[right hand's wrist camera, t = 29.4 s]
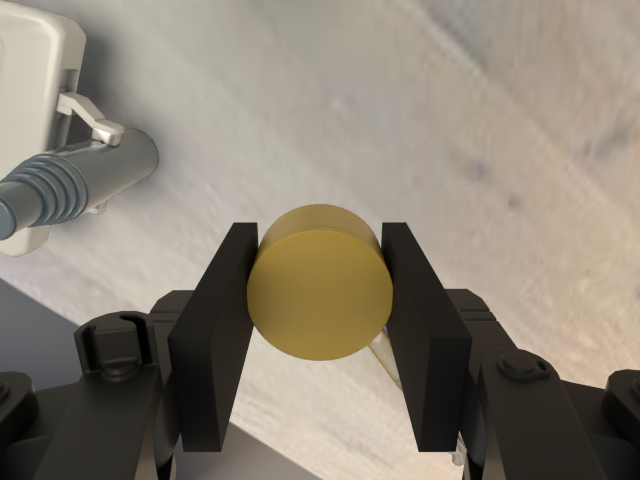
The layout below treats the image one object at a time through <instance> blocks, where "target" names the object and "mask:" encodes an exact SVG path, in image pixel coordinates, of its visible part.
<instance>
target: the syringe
mask: <svg viewBox="0 0 640 480" xmlns="http://www.w3.org/2000/svg"><path fill="white" fill-rule="evenodd" d="M368 346H369V348H370V349H371V350H372V352H373V353H374V354H375V356H376V357H377V359H378V360H379V361H380V363H381V364H382V365H383V367H384V368H385V370H386V371H387V372H388V374H389V375H390V376H391V378H392V379H393V381H394V382H395V383H396V385H397V386H398V387H399V388H400V389H401V391H402V392H403V390H402V386H401V382H400V378H399V374H398V370H397V367H396V363H395V359H394V355H393V351H392V348H391V344H390V340H389V338H388V337H387V335H386V334H385V332H384V331H383V330H382V331H381V332H380V334H379V335H378V336H377V337H376V338H375V339H374V340H373V341H372V342H371V343H370V344H368ZM403 394H404V393H403ZM466 451H467V449H466V447H465V446H464V445H463V443H462V442H461V440H460V439H459V438H458V441H457V448H456V452H448V453H452V456H453V458H452V462H453V463H454V464H455V465H457V466H461V465H463V464H465V457H466Z"/></svg>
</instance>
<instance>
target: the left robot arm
mask: <svg viewBox="0 0 640 480" xmlns="http://www.w3.org/2000/svg"><path fill="white" fill-rule="evenodd" d="M85 45H86V35H85V33H84V32H83V30H82V29H81V28H80V26H79V25H78V24H77V22H75V21H74V20H71V19H69V18H66V17H64V16H61V15H58V14H55V13H52V12H48V11H45V10H41V9H37V8H33V7H30V6H26V5H22V4H18V3H13V2H9V1H4V0H0V180H2V179H3V178H5V177H6V175H8V174H9V173H10V172H11V171H12V170H13V169H14V168H15V167H17V166H18V165H19V164H20V163H21V162H23V161H24V160H27V159H29V158H30V157H32V156H34V155H37V154H40V153H44V152H47V151H51V150H54V149H58V148H61V147H65V146H66V143H67V137H68V132H69V127H70V122H71V117H72V115H77V114H78V115H79V116H80V117H81V118H82V119H83V120H84V121H85V122H86V123H87V124H88V125H89V126H90V127H91V128H92V129H93V132H92V138H91V139H94V140H96V141H99V142H101V141H103V142H104V143H105V144H107V145H110V146H117V145H120V144H121V140H122V136H123V133H124V128H125V127H123V126H122V125H119V124H116V123H114V122H111V121H109V120H106V119H105V117H104V115H103V114H102V113H101V112H100V111H99V110H98V109H97V107H96V106H95V105H94V104H93V103H92V102H91V101H90V100H89V98H87V97H85V96H82V95H79V94H77V93H76V91H77V86H78V80H79V75H80V70H81V65H82V60H83V55H84V49H85ZM107 200H108V199H107ZM107 200H106V201H104V202H102V203H101V204H99V205H97V206H96V207H94V208H92V209H91V210H89V211H87V212H90V213H93V214H100V213H102V212H103V211H105V209H106V205H107ZM50 226H51V225H44V226H36V227H31V228H24V229H22V230H20V231H18V232H16V233H15V234H14V235H13V236H11V237H10V238H8V239H6V240H3V241H0V252H1V253H3V254H6V255H9V256H13V257H18V256H22V255H25V254H28V253H30V252H32V251H34V250H35V249H37V248H39V247H40V246H42V245H43V244H44V243H46V241H47V240H48V236H49V231H50Z"/></svg>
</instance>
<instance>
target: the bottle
mask: <svg viewBox="0 0 640 480" xmlns="http://www.w3.org/2000/svg"><path fill="white" fill-rule="evenodd" d="M157 163H158V152H157V149H156V146H155V144H154V143H153V141H152V140H151V139H150V138H149V137H148V136H147V135H146V134H144V133H143V132H140V131H138V130H134V129H125V130H124V133H123V136H122V140H121V144H120V145H117V146H110V145H107V144H105V143H104V142H103V141H101V142H99V141H96V140H94V139H90V140H86V141H82V142H79V143H75V144H72V145H68V146H65V147H61V148H58V149H54V150H51V151H47V152H44V153H40V154H37V155H34V156H32V157H30V158H29V159H27V160H24V161H23V162H21V163H20V164H19V165H18V166H17V167H15V168H14V169H13V170H12V171H11V172H10V173H9V174H8V175H6V177H5V178H3V179H2V180H0V241H3V240H6V239H8V238H10V237H11V236H13V235H14V234H15V233H16V232H18V231H20V230H22V229H24V228H31V227H36V226H44V225H53V224H60V223H64V222H67V221H69V220H73V219H75V218H77V217H79V216H80V215H82V214H84V213H85V212H87V211H89V210H91V209H92V208H94V207H96V206H97V205H99V204H101V203H102V202H104V201H106V200H107V199H109V198H111V197H113V196H114V195H116V194H118V193H119V192H121V191H123V190H124V189H126V188H128V187H130V186H131V185H133V184H135V183H136V182H138V181H140V180H141V179H143V178H145V177H146V176H148V175H150V174H151V173H152V172H153V171H154V170H155V168H156V166H157Z"/></svg>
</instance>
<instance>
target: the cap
mask: <svg viewBox="0 0 640 480" xmlns="http://www.w3.org/2000/svg"><path fill="white" fill-rule="evenodd" d="M392 298H393V284H392V279H391V276H390V273H389V270H388V268H387V265H386V262H385V259H384V256H383V253H382V251H381V248H380V245H379V242H378V240H377V238H376V236H375V234H374V232H373V231H372V229H371V228H370V227H369V226H368V225H367V224H366V222H365V221H363V220H362V219H361V218H360V217H359V216H357V215H355V214H354V213H352V212H350V211H348V210H346V209H344V208H341V207H337V206H333V205H327V204H314V205H307V206H302V207H299V208H296V209H293V210H291V211H289V212H287V213H286V214H284V215H283V216H281V217H280V218H278V219H277V220H276V221H275V222H274V223H273V224H272V225H271V226H270V228H269V229H268V230H267V232H266V233H265V235H264V237H263V239H262V241H261V243H260V246H259V249H258V252H257V255H256V258H255V261H254V263H253V266H252V269H251V272H250V275H249V279H248V282H247V303H248V312H249V315H250V318H251V320H252V322H253V324H254V326H255V327H256V329H257V330H258V332H259V333H260V334H261V335H262V336H263V337H264V339H265V340H267V341H268V342H269V343H270V344H271V345H273V346H274V347H276V348H277V349H278V350H280V351H282V352H284V353H286V354H288V355H291V356H294V357H297V358H301V359H306V360H313V361H325V360H334V359H339V358H343V357H346V356H349V355H351V354H353V353H356V352H358V351H359V350H361V349H363V348H364V347H366V346H367V345H368V344H370V343H371V342H372V341H373V340H374V339H375V338H376V337H377V336H378V335H379V334H380V332H381V331H382V330H383V328H384V326H385V325H386V323H387V321H388V319H389V316H390V314H391V310H392Z"/></svg>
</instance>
